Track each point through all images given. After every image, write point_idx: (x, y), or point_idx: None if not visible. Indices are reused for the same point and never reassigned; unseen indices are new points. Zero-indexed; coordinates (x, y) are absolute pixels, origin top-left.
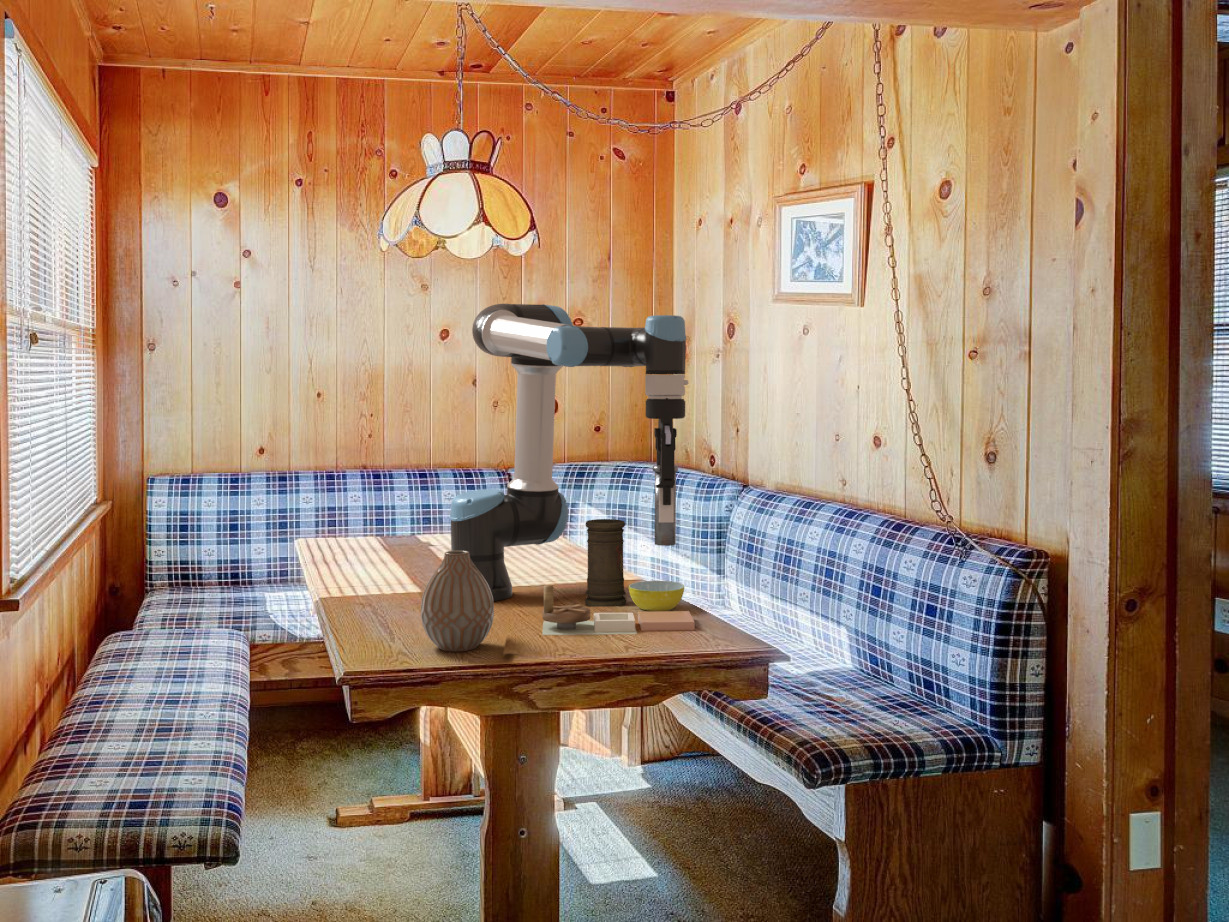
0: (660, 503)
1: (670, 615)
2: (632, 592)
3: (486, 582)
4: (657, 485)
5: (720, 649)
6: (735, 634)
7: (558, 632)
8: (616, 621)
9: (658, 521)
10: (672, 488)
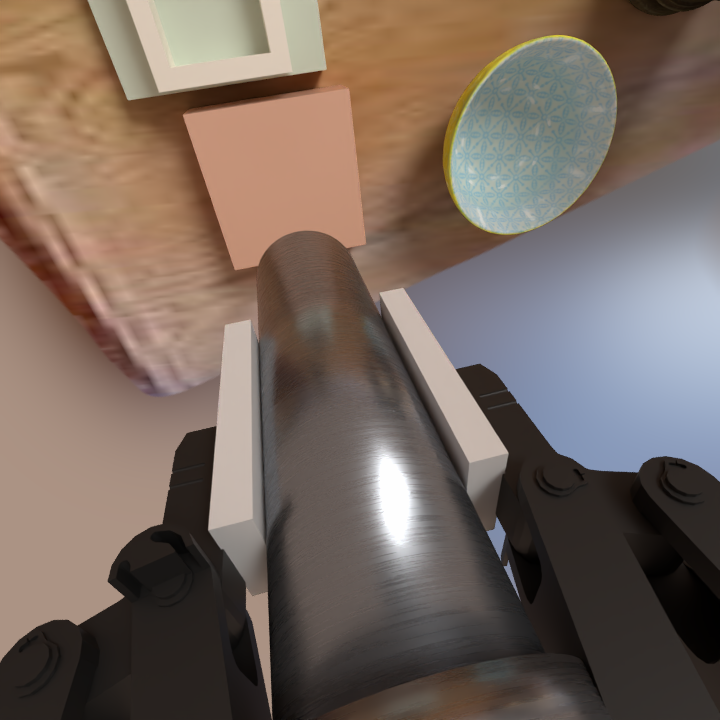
0: (221, 417)
1: (304, 200)
2: (500, 56)
3: None
4: (119, 572)
5: (135, 317)
6: None
7: None
8: (131, 11)
9: (267, 315)
10: (251, 586)
